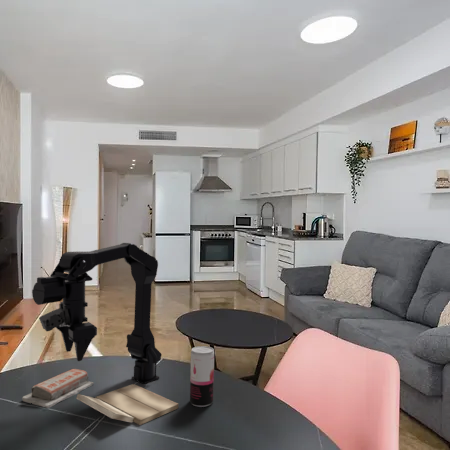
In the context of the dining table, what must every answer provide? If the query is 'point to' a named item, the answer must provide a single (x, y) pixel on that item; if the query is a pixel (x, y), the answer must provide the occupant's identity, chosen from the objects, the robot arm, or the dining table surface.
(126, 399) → the laid floor
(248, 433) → the dining table surface
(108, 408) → the plank
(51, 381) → the packaged product
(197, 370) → the beverage can
